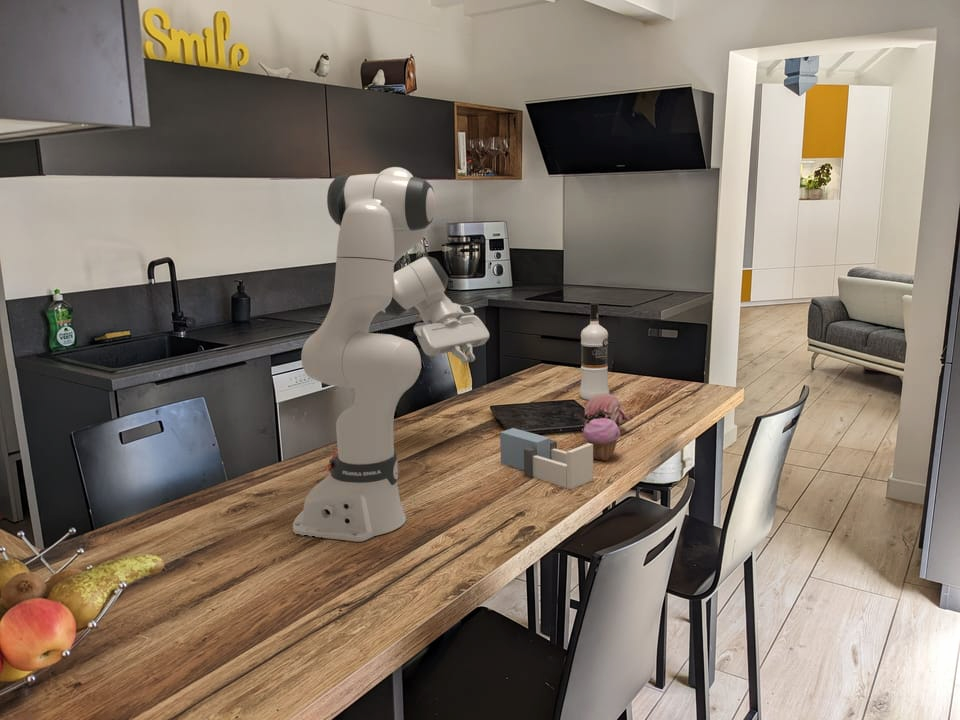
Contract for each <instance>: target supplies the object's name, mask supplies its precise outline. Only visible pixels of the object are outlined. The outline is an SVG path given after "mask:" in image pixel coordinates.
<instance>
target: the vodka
mask: <svg viewBox="0 0 960 720" xmlns="http://www.w3.org/2000/svg"><path fill="white" fill-rule="evenodd" d="M589 305H590V306H589V315H590V316H589V324H588V325H587V326H585V327H584V328H583V329H582V330H581V332H580V338H581V339H580V345H581V366H580V369H581V371H580V372H581V378H580V388H579V396H580V398H582V400H586V401H589V400H590V399H591V398H592V397H594V396H595V395H598V394H604V393H608V394H610V389H609V381H608V379H609V378H608V369H609V368H608V367H609V366H608V344H609V342H608V337H609V333H608V330H607V329H606V328H604V327H603V326H602V325H600V323H599V305H600V304H599V303H597V302H591V303H590V304H589Z"/></svg>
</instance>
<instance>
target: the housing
mask: <svg viewBox="0 0 960 720" xmlns="http://www.w3.org/2000/svg"><path fill="white" fill-rule="evenodd" d="M523 473H524V474H523V477H527V478H530V479H531V478H535V479H538V480H540V481H545V482H547V483H550V484H553V485H556V486H558V487H559V486H560V487H562V488H566V489H569V490H573V489H575V488H578V487H580V486H582V485H585V484H588V483H589V482H591V481H594V459H593V444H590V443H588V442H587V443H585V444H583V445H581V446H578V447H574V448H572V449H570V450H567V451H566V450H562V449H558V440H557V441H556V440H553V439H550V459H547V458H544V457H540V456H537V455H536V449H534V448H531V447H529V448H526V449H524V470H523Z"/></svg>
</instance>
